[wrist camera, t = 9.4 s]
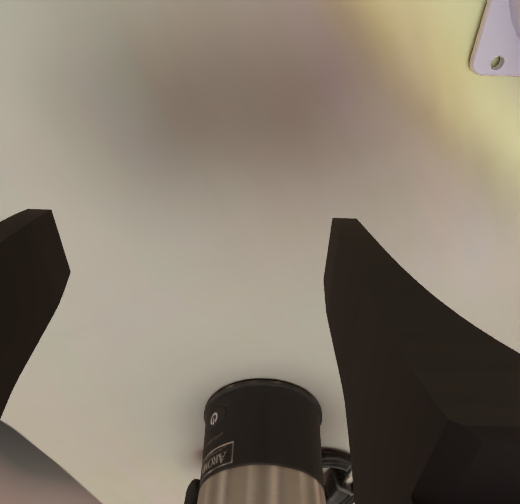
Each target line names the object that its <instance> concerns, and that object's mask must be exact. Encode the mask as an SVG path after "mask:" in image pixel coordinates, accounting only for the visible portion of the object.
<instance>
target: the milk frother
mask: <svg viewBox="0 0 520 504" xmlns="http://www.w3.org/2000/svg"><path fill="white" fill-rule="evenodd" d="M204 420H205V424H206V427H205V439H204V450H203V462H202V471H201V478H200V480H199V479H194V480H192V482H191V483H190V484H189V486H188V489H187V492H186V497H185V502H184V504H353V503H354V502H355V501H354V488H353V477H352V466H351V458H350V457H348V456H346V455H343V454H340V453H336V452H329V451H324V452H321V439H320V425H321V422H322V411H321V408H320V406H319V404H318V402H317V401H316V400H315V399H314V398H313V396H311V395H310V394H309V393H307V392H306V391H305V390H303V389H301V388H299V387H296V386H295V385H292V384H288V383H285V382H280V381H272V380H250V381H244V382H239V383H235V384H233V385H229V386H227V387H225V388H224V389H222V390H220V391H219V392H217V393H216V394H215V395H214V396H212V398H211V399H210V400H209V401H208V403H207V405H206V408H205V411H204ZM328 467H331V471H332V472H331V473H330V475H329V476H328V478H327V480H326V483H325V485H324V480H323V469H322V468H328Z"/></svg>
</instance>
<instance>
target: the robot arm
mask: <svg viewBox="0 0 520 504" xmlns="http://www.w3.org/2000/svg"><path fill="white" fill-rule="evenodd" d="M498 56H500V62H499V64H498V65H497V66H495V67H492V68H491V62H492V60H493V59H494V58H496V57H498ZM469 66H470V69H471V70H472V71H473V72H474V73H476V74H478V75H489V76H520V0H488V1H487V4H486V7H485V11H484V14H483V18H482V21H481V24H480V28H479V31H478V35H477V38H476V41H475V45H474V48H473V52H472V55H471V58H470V64H469ZM69 275H70V269H69V265H68V262H67V259H66V256H65V252H64V249H63V246H62V243H61V239H60V236H59V233H58V230H57V226H56V223H55V220H54V217H53V214H52V210H42V209H27V210H24V211H22V212H19V213H17V214H15V215H13V216H11V217H9V218H7V219H5V220H3V221H1V222H0V418H1V416H2V413H3V411H4V409H5V406H6V404H7V401H8V399H9V397H10V394H11V392H12V390H13V388H14V386H15V384H16V382H17V380H18V378H19V376H20V374H21V372H22V371H23V369H24V367H25V365H26V363H27V362H28V360H29V358H30V356H31V354H32V353H33V351H34V349H35V347H36V345H37V344H38V342H39V340H40V338H41V336H42V335H43V333H44V331H45V329H46V327H47V326H48V324H49V322H50V320H51V318H52V316H53V315H54V313H55V311H56V309H57V307H58V305H59V303H60V300H61V297H62V295H63V292H64V290H65V287H66V284H67V281H68V278H69ZM324 291H325V303H326V313H327V318H328V323H329V328H330V332H331V337H332V342H333V346H334V351H335V355H336V360H337V365H338V369H339V374H340V378H341V383H342V388H343V394H344V400H345V408H346V417H347V426H348V435H349V445H350V456H351V466H352V477H353V488H354V501H355V504H520V353H518V352H516V351H514V350H513V349H511V348H509V347H508V346H506V345H504V344H502V343H501V342H499V341H498V340H496V339H494V338H493V337H491V336H490V335H488V334H487V333H485V332H483V331H482V330H480V329H479V328H477V327H476V326H474V325H473V324H471V323H470V322H468V321H467V320H465V319H464V318H462V317H461V316H460V315H458V314H457V313H456V312H454V311H453V310H452V309H450V308H449V307H448V306H446V305H445V304H444V303H442V302H441V301H440V300H438V299H437V298H436V297H435V296H433V295H432V294H431V293H430V292H429V291H427V290H426V289H425V288H424V287H423V286H422V285H421V284H419V283H418V282H417V281H416V280H415V279H414V278H413V277H412V276H411V275H409V274H408V273H407V272H406V271H405V270H404V269H403V268H402V267H401V266H400V265H399V264H398V263H397V262H396V261H395V260H394V259H393V258H392V257H391V256H390V255H389V254H388V253H387V252H386V251H385V250H384V249H383V247H382V246H381V245H380V244H379V243H378V242H377V241H376V240H375V239H374V238H373V236H372V235H371V234H370V233H369V232H368V231H367V230H366V229H365V228H364V226H363V225H362V224H361V223H360V222H359V221H358V220H357V219H348V218H333V219H332V226H331V232H330V239H329V246H328V253H327V260H326V267H325V274H324Z"/></svg>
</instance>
